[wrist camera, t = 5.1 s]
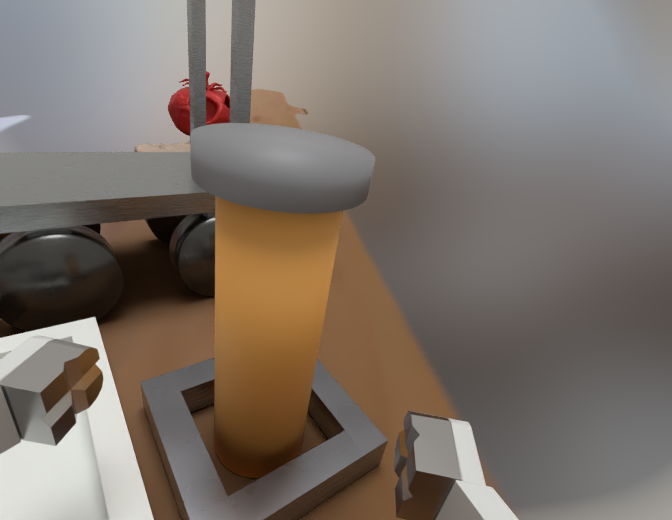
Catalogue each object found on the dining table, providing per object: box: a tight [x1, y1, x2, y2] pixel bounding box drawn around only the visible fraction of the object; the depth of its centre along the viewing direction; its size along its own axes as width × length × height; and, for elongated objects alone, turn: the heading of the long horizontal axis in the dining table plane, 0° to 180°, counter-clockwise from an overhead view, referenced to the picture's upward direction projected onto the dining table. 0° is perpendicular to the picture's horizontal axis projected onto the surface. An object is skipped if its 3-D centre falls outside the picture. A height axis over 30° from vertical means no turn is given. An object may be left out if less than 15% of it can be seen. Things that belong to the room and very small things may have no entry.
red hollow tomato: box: [168, 72, 230, 136], centre depth 58 cm, size 10×10×9 cm
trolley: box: [0, 0, 255, 331], centre depth 20 cm, size 13×9×19 cm
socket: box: [141, 358, 388, 520], centre depth 15 cm, size 7×7×2 cm
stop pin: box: [190, 123, 375, 478], centre depth 13 cm, size 5×5×12 cm
